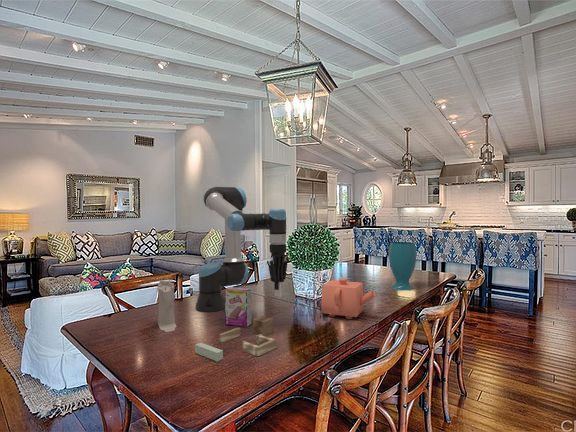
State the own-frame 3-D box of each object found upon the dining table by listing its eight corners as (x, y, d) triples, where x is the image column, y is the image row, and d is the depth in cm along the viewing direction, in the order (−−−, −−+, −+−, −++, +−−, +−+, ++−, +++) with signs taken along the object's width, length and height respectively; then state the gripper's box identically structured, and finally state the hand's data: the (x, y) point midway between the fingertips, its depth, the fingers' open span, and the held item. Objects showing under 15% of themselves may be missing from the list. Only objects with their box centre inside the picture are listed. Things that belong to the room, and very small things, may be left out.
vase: (420, 291, 222) (420, 244, 221) (393, 291, 222) (393, 244, 221) (410, 285, 239) (411, 241, 238) (385, 285, 239) (385, 241, 238)
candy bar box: (224, 325, 157) (224, 288, 156) (229, 321, 161) (229, 286, 161) (246, 327, 153) (246, 290, 153) (251, 324, 158) (251, 288, 157)
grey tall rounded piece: (161, 333, 147) (160, 285, 146) (157, 323, 159) (156, 280, 159) (178, 330, 150) (178, 284, 150) (173, 321, 162) (173, 278, 162)
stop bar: (195, 352, 126) (195, 344, 126) (200, 350, 128) (200, 342, 128) (217, 361, 119) (217, 352, 119) (222, 359, 121) (222, 350, 121)
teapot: (379, 312, 176) (379, 277, 175) (370, 325, 155) (370, 286, 155) (332, 306, 186) (332, 273, 186) (318, 318, 166) (318, 281, 165)
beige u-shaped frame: (217, 342, 136) (217, 335, 136) (237, 334, 144) (237, 327, 144) (258, 356, 123) (258, 348, 123) (278, 346, 131) (277, 338, 131)
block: (253, 333, 146) (253, 319, 146) (262, 329, 151) (262, 315, 151) (263, 336, 142) (263, 322, 142) (273, 332, 147) (273, 318, 147)
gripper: (275, 245, 146) (275, 300, 147) (293, 242, 157) (293, 294, 157) (261, 244, 151) (262, 298, 151) (280, 242, 161) (280, 292, 162)
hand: (278, 296), depth 154 cm, fingers closed
